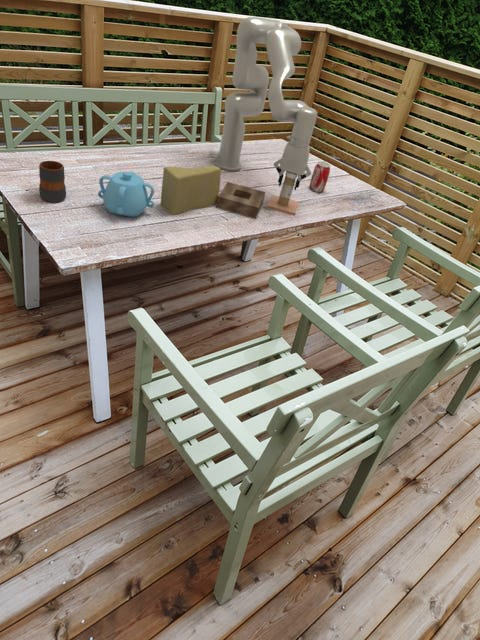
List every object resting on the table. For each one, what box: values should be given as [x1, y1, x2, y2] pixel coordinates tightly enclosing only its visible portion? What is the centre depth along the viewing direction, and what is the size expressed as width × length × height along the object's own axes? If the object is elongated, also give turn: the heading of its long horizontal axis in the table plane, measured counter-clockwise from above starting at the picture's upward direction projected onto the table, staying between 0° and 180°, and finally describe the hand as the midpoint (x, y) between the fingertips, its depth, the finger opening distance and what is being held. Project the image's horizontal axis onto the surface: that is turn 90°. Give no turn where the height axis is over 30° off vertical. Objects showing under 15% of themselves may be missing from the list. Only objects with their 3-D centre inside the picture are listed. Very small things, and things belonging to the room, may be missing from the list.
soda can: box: [309, 161, 331, 193], centre depth 217 cm, size 7×7×12 cm
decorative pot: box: [97, 170, 155, 218], centre depth 168 cm, size 16×16×14 cm
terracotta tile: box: [265, 194, 300, 216], centre depth 200 cm, size 12×12×1 cm
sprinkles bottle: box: [278, 171, 298, 205], centre depth 196 cm, size 5×5×14 cm
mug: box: [38, 160, 67, 204], centre depth 166 cm, size 9×12×12 cm
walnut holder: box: [215, 181, 266, 219], centre depth 192 cm, size 16×16×4 cm
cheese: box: [160, 165, 222, 216], centre depth 179 cm, size 22×10×15 cm, turn 125°
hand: (287, 186), depth 195 cm, fingers open, 5 cm apart
